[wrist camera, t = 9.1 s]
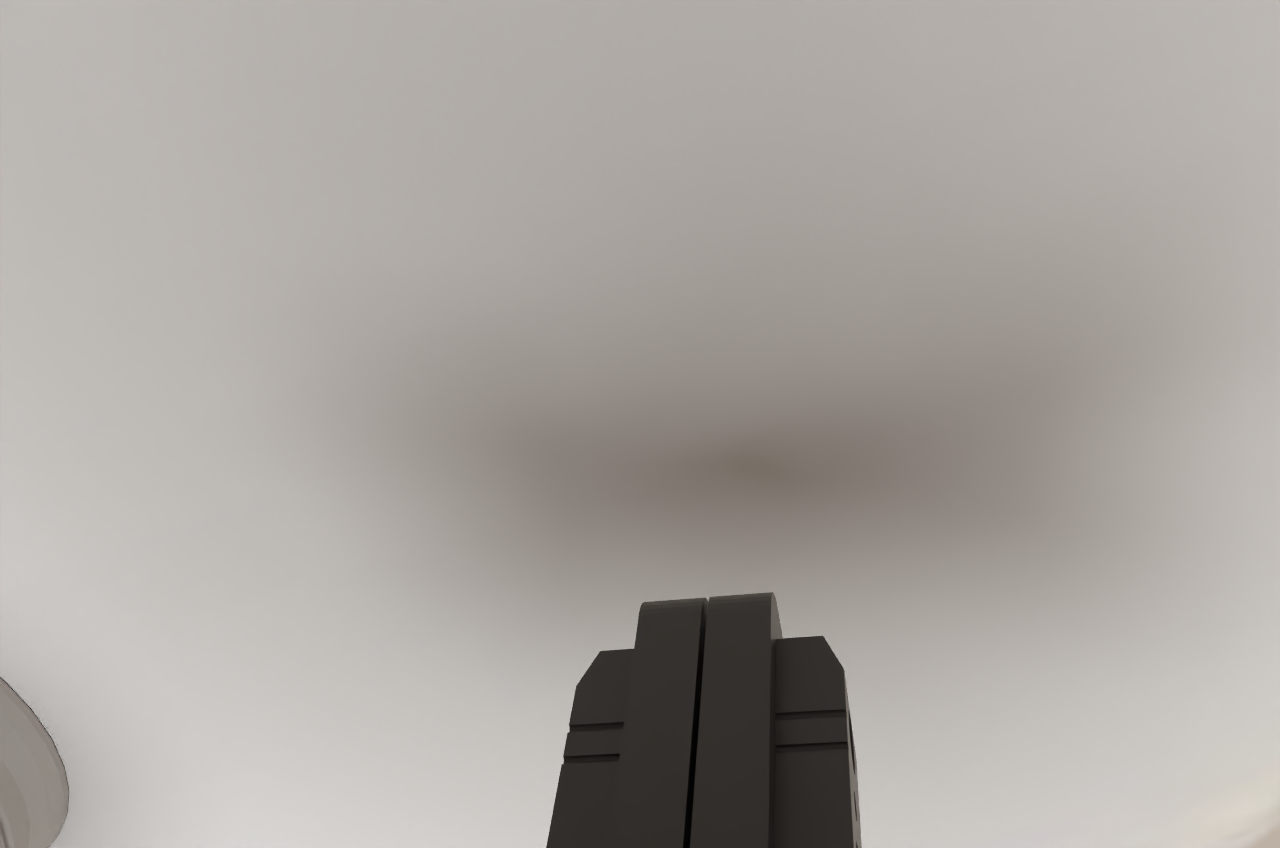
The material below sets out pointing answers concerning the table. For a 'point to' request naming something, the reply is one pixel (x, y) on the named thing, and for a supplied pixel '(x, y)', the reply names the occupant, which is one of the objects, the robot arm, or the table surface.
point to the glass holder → (28, 778)
